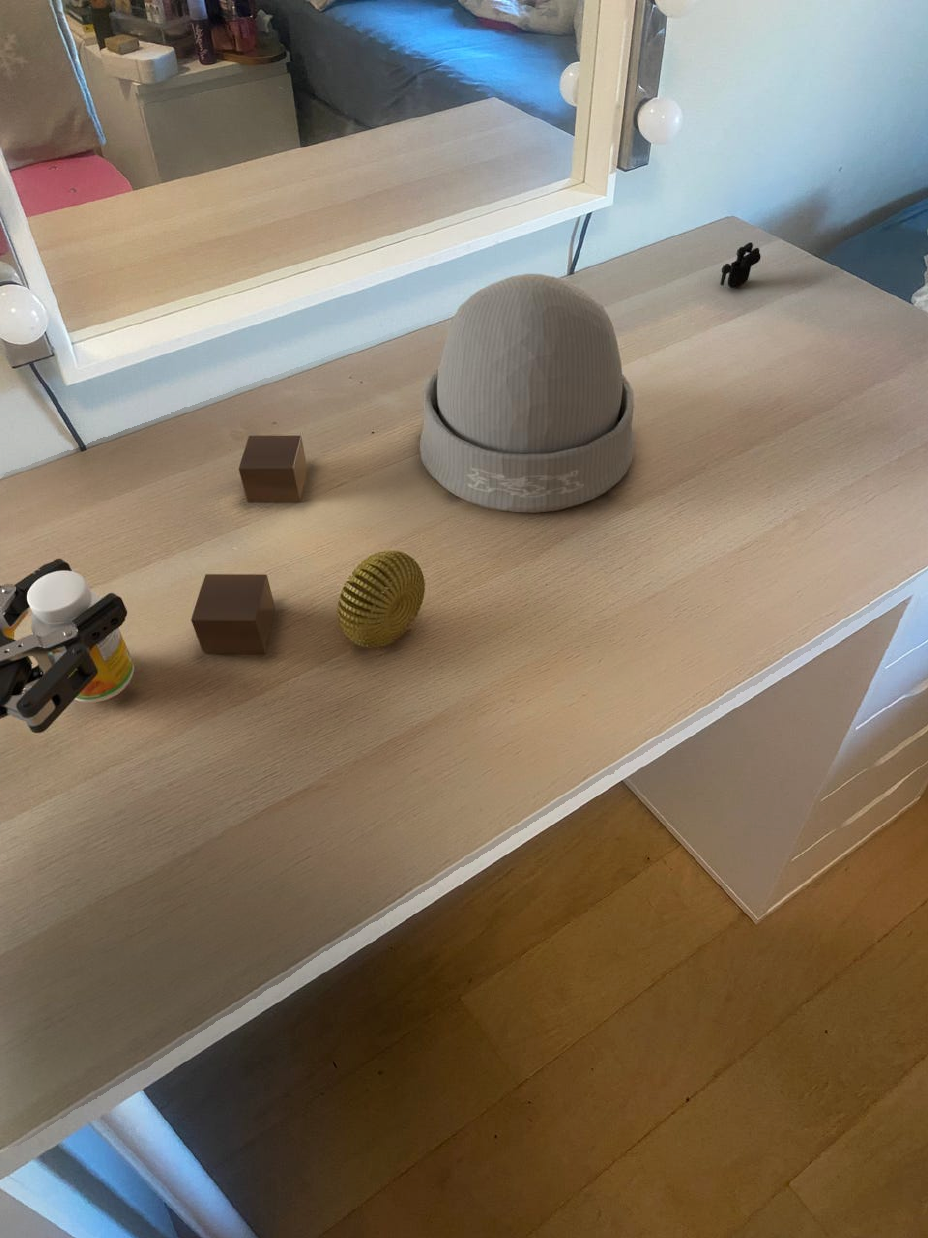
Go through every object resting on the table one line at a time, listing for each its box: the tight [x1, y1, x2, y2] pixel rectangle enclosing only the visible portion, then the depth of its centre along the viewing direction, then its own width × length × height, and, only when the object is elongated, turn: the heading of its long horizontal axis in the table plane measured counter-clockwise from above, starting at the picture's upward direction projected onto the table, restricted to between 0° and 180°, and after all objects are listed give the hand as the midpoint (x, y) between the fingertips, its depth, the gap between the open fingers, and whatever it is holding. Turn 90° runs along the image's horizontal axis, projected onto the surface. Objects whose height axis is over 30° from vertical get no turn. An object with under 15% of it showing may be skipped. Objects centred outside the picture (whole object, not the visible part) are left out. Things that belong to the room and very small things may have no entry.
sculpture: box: [337, 550, 426, 649], centre depth 69 cm, size 8×4×8 cm, turn 140°
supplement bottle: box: [27, 570, 135, 704], centre depth 66 cm, size 5×5×10 cm
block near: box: [190, 573, 276, 655], centre depth 71 cm, size 5×5×4 cm
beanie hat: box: [419, 273, 636, 514], centre depth 83 cm, size 21×21×20 cm
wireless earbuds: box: [719, 241, 762, 289], centre depth 107 cm, size 7×2×5 cm, turn 132°
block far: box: [238, 435, 308, 503], centre depth 84 cm, size 5×5×4 cm
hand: (93, 585), depth 65 cm, fingers closed on supplement bottle, 5 cm apart
